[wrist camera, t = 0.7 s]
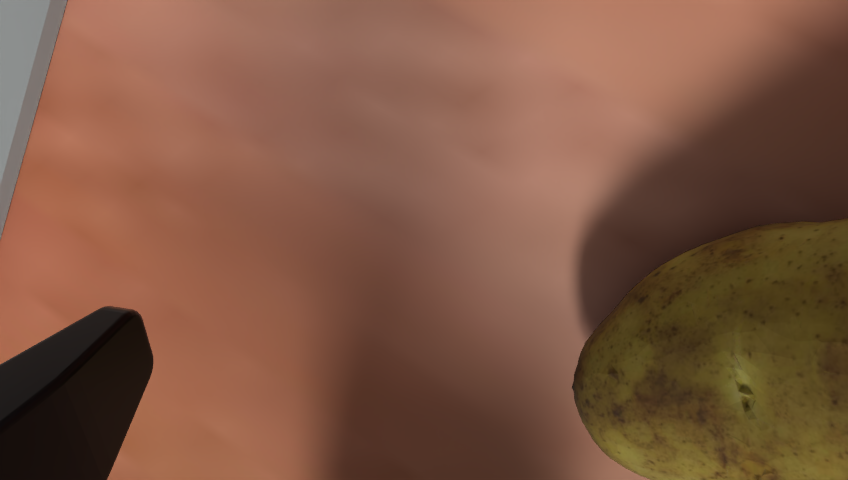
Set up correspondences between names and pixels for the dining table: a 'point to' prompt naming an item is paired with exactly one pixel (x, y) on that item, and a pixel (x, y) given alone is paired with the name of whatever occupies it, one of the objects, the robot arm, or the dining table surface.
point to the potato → (728, 361)
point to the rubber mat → (22, 80)
